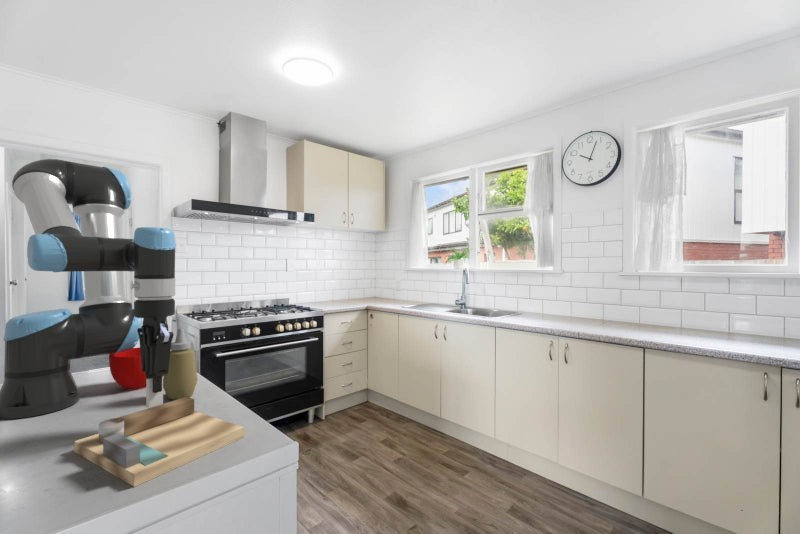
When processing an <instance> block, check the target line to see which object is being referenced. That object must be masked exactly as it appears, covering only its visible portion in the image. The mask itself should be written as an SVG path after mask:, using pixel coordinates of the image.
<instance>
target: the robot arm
mask: <svg viewBox="0 0 800 534" xmlns="http://www.w3.org/2000/svg"><path fill="white" fill-rule="evenodd" d="M11 183H12V184H11V187H12V190H13V193H14V196H15V197H16V198H17V199H18V200H19V201H20V202H21V203H23V204H24V207H25V210H26V212H27V216H28V218H29V221H30V224H31V227H32V229H33V231H34V234H31V235H30V236H29V237H28V241H27V248H26V251H27V252H26V255H27V264H28V266H29V267H30V269H31V270H33V271H36V272H53V273H61V272H65V273H66V272H69V273H70V272H83V282H84V298H85V301H84V302H83V303H82V304H80V305H79V306H78V313H73V312H72V311H71V310H70V309H69V308H58V309H49V310H48V309H47V310H41V311H36V312H29V313H27V314H21V315H18V316H14V317H12V318H10V319H8V320H7V321H6V323H5V325H4V326H5V327H4V337H2V338H3V341H4V367H3V368H4V375H3V376H4V378H3V379H4V380H3V383H2V385H1V386H0V387H1V388H0V419H1V420H14V419H23V418H30V417H31V418H32V417H37V416H41V415H46V414H52V413H54V412H57V411H58V412H59V411H60V410H64V409H67V408H69V407H72V406H74V405H75V404H77V403H78V402H79V401H80V390H79V388H78V385H77V383H76V381H75V378H74V376H73V374H72V371H71V360H78V359H84V358H92V357H98V356H105V355H110V354H116V353H118V352H123V351H128V350H131V349H132V348H136V345H137V344H138V342H139V347H140V353H141V364H142V371H143V372H145V375H146V387H145V390H146V391H145V392H146V398H145V399H146V403H145V404H146V406H145V407H146V409H148V408H151V407H155V406H158V405H161V404H164V388H163V377H164V375H166V374H168V369H169V360H170V351H171V343H173V339H174V332H173V331H169V325H168V319H167V318H168V317H172V316H173V315H175V314H176V300H175V299H174V298H173V297H175V295H176V247H177V244H176V238H175V236H176V235H175V232H174V231H173V230H172V229H170V228H165V227H156V226H155V227H153V226H152V227H151V226H149V227H148V226H144V227H143V226H142V227H137V228H136V229H135V230H134V233H133V235H134V236H133V238H121V235H120V221H119V220H120V219H119V218H121V217H122V216H123V215H124V214H125V210H128V209H129V208H130V206H131V205H132V199H131V198H132V189H131V184H130V182H129V179H128V177H127V176H126V174H124V173H123V172H122V171H120V170H117V169H113V168H109V167H107V166H97V165H93V164H92V165H91V164H87V163H80V162H73V161H70V160H69V161H67V160H64V159H58V158H54V159H53V158H46V159H40V160H35V161H32V162H29V163H26V164H25V165H23V166H22V167H21V168H19V169H18V170H17V172H15V173H14V175H13V178H12V181H11ZM70 205H71V206H72V210H71V208H70ZM74 214H75V215H77V216H78V217H79V218H80V226H79V224H78V223H77V220H76V218H75V216H74ZM124 272H133V274H134V275H133V279H134V280H133V281H134V283H132V284H131V288H132V289H134V293H133V294H134V298H137V299H135V301H134V302H133V303H132V301H130V300H129V299H127V298H126V297H125V286H124V285H125V284H124Z"/></svg>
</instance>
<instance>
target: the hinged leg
mask: <svg viewBox="0 0 800 534" xmlns="http://www.w3.org/2000/svg"><path fill="white" fill-rule="evenodd" d="M194 411H195V399H194V398H191V397H185V398H181V399H174V400H172V401H169V402H165V403H163V404H161V405H158V406H155V407H151V408H145V409H142V410H139V411H136V412H135V411H134V412H131V413H128V414H125V415H121V416H119V417H115V418H109V419H106V420H103V421H100V423H98V433H99V442H101V443H103V438H106V437H109V436H112V435H115V434H118V435H120V436H122V437H125V436H128V435H131V434H134V433H137V432H140V431H143V430H146V429H149V428H152V427H154V426H157V425H160V424H163V423H166V422H169V421H172V420H175V419H178V418H181V417H184V416H186V415H189V414H192V413H194Z"/></svg>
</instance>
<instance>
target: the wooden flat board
mask: <svg viewBox="0 0 800 534" xmlns="http://www.w3.org/2000/svg"><path fill="white" fill-rule="evenodd" d="M244 437H245V427H244V426H241V425H238V424H235V423H232V422H229V421H226V420H223V419H220V418H217V417H214V416H211V415H208V414H205V413H201V412H199V411H196V410H194V413H192V414H189V415H186V416H184V417H181V418H178V419H175V420H172V421H169V422H166V423H163V424H160V425H157V426H154V427H152V428H149V429H146V430H143V431H140V432H137V433H134V434H131V435H128V436H125V437H122V436H120V435H118V434H115V435H112V436H109V437H106V438H103V443H101V442H99V432H97V433H95V434H92V435H89V436H86V437H82V438H80V439H77V440H74V442H73V443H74V445H73V446H74V448H73V451H74V453H75V454H77V455H79V456H80V457H82V458H84V459H85V460H87V461H89V462H91V463H93V464H94V465H96V466H98V467H99V468H102V470H105V471H106V472H108V473H110V474H111V475H113V476H115V477H116V478H118V479H120V480H122V481H124V483H126V484H129V485H130V486H132V487H133V488H135V487H137V486H139V485H142V484H144V483H147V482H149V481H151V480H154V479H155V478H157V477H160V476H162V475H163V474H164V475H165V474H166V473H168V472H170V471H173V470H174V469H175V470H176V469H177V468H179V467H181V466H183V465H186V464H188V463H190V462H192V461H195V460H197V459H199V458H202V457H203V456H204V457H205V455H208V454H211V453H213V452H214V451H217V450H219V449H221V448H223V447H225V446H227V445H230V444H232V443H234V442H236V441H238V440H239V441H240V440H241V439H243V438H244Z"/></svg>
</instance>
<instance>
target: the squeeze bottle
mask: <svg viewBox="0 0 800 534" xmlns="http://www.w3.org/2000/svg"><path fill="white" fill-rule="evenodd" d="M191 344H192V343H191V341H188V340H187V339H186V334H185V329H184V328H178V329H177V333H176V337H175V340H174V342H173V341H172V342H171V351H170V360H169V369H168V374H166V375H164V376H163V391H164V392H165V395H166V398H167V399H168V400H178V399H181V398H185V397H188V398H191V397H192V396H193V395H194V392H195V389H196V386H197V382H198V371H197V363H196V355H195V354H196V353H195V351H194V349H192V348H191Z"/></svg>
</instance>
